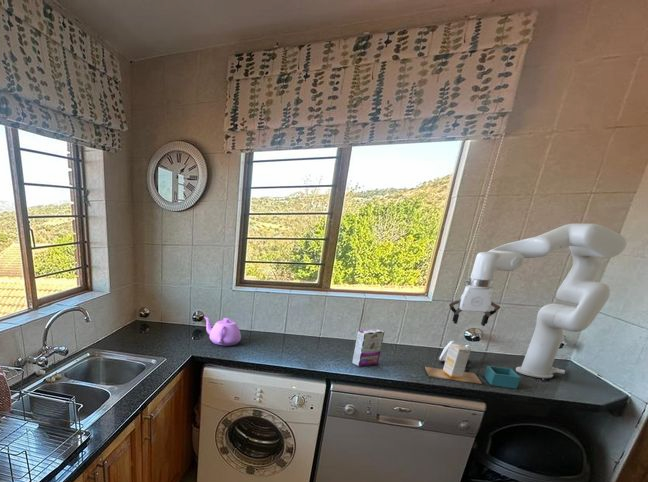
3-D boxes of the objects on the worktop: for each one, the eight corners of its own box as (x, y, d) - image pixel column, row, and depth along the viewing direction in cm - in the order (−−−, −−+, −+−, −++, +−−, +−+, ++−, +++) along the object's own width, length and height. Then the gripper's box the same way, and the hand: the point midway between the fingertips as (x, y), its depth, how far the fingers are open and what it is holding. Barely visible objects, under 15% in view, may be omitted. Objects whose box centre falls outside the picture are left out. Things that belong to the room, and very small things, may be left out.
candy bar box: (369, 361, 196) (377, 328, 190) (377, 364, 192) (385, 331, 186) (350, 363, 193) (357, 330, 187) (358, 366, 189) (365, 333, 183)
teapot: (208, 335, 238) (209, 312, 233) (244, 339, 229) (246, 316, 224) (195, 344, 220) (196, 320, 215) (234, 350, 211) (237, 324, 206)
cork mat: (474, 374, 181) (474, 373, 181) (481, 384, 170) (482, 383, 170) (424, 367, 188) (425, 366, 188) (428, 376, 178) (429, 375, 177)
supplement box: (462, 378, 175) (471, 349, 170) (450, 377, 176) (459, 348, 171) (453, 371, 182) (462, 344, 177) (441, 370, 183) (450, 343, 178)
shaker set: (438, 363, 194) (444, 341, 190) (435, 360, 198) (441, 338, 194) (467, 365, 191) (474, 343, 187) (463, 363, 195) (470, 341, 191)
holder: (507, 379, 175) (511, 368, 174) (516, 388, 166) (520, 377, 164) (483, 376, 179) (487, 365, 177) (490, 385, 169) (494, 374, 167)
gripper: (456, 283, 165) (445, 324, 171) (510, 286, 158) (496, 328, 164) (453, 281, 171) (442, 320, 177) (504, 283, 164) (491, 324, 170)
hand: (468, 324), depth 171 cm, fingers open, 9 cm apart
